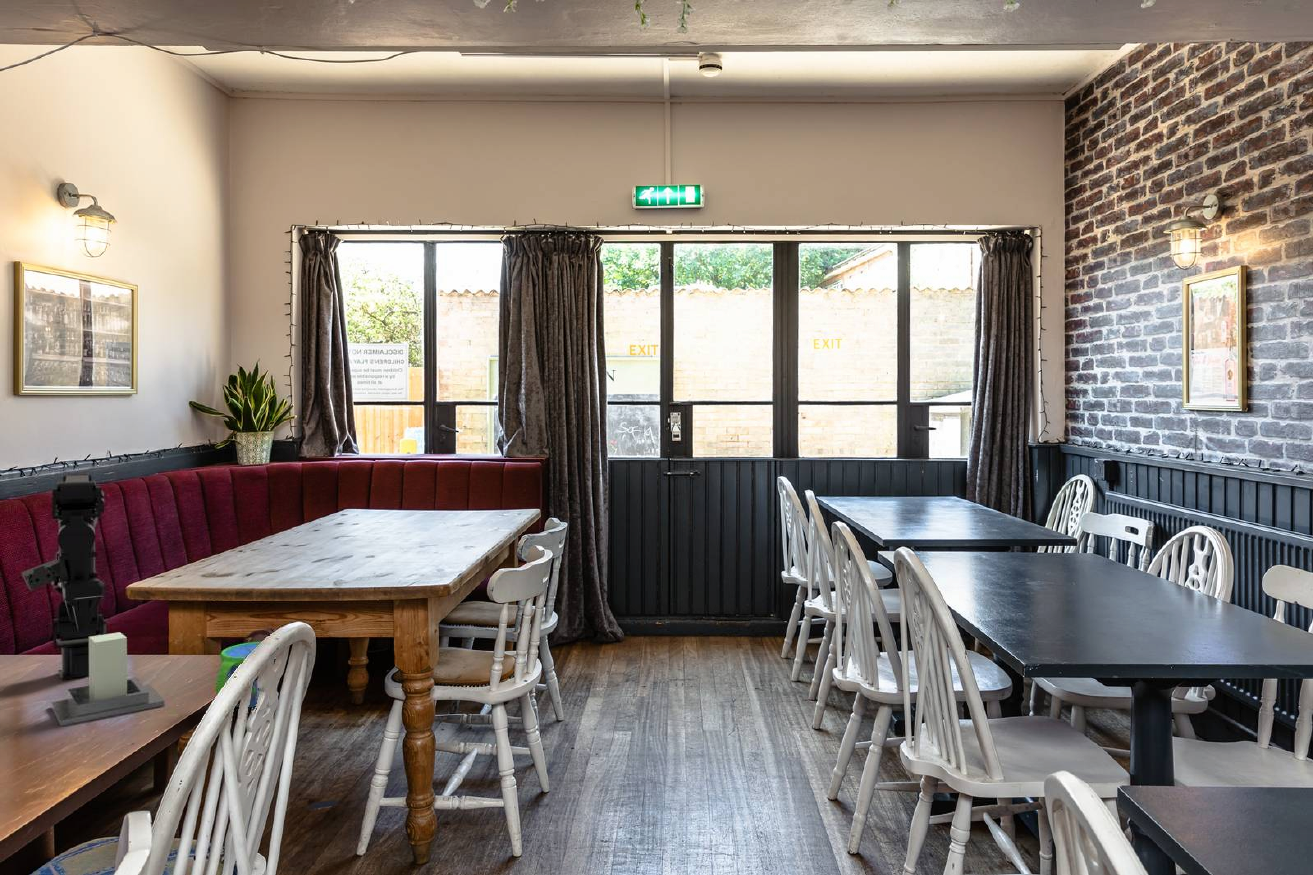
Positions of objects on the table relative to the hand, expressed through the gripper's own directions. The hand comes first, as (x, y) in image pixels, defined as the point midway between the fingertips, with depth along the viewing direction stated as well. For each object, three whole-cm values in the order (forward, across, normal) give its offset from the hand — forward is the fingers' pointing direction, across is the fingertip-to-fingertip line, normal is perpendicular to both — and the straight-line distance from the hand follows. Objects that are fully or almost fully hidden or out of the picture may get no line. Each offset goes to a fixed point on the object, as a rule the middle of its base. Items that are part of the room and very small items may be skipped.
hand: (77, 626), depth 164 cm
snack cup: (+13, +26, +24) cm, 38 cm away
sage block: (+12, +12, +3) cm, 17 cm away
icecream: (+13, -1, +34) cm, 37 cm away
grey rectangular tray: (+13, +12, +3) cm, 18 cm away
